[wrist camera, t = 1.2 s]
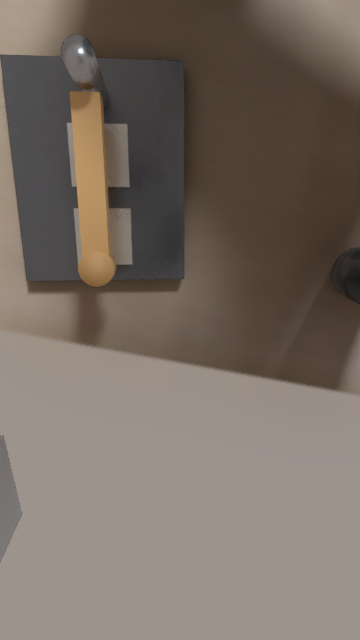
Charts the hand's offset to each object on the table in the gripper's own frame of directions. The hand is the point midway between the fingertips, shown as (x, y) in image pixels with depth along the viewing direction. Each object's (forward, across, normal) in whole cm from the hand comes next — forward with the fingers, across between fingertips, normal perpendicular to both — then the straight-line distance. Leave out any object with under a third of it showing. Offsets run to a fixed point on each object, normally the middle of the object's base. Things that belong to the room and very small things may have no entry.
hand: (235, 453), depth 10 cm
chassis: (+22, -6, +10) cm, 25 cm away
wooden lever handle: (+17, -6, +9) cm, 20 cm away
